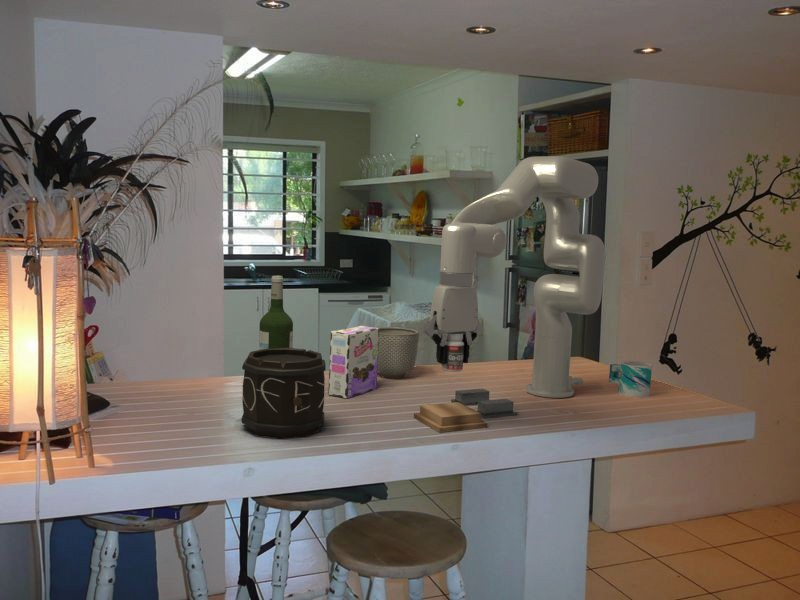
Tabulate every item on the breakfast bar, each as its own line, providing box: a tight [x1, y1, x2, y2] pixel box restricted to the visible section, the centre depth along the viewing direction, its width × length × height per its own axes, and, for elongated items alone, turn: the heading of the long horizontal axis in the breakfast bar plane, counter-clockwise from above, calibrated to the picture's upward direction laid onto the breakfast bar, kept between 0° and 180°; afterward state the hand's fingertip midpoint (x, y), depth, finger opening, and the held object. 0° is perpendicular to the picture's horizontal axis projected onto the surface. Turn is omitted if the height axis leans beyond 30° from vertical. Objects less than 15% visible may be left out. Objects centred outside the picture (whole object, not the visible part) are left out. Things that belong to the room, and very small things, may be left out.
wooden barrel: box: [240, 347, 327, 440], centre depth 158 cm, size 18×18×16 cm
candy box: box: [328, 325, 379, 399], centre depth 190 cm, size 14×6×16 cm, turn 148°
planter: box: [377, 326, 420, 380], centre depth 211 cm, size 14×14×13 cm
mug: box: [608, 360, 653, 399], centre depth 203 cm, size 8×12×8 cm
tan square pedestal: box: [413, 402, 488, 433], centre depth 167 cm, size 12×12×3 cm
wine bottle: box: [258, 275, 294, 350], centre depth 179 cm, size 8×8×30 cm
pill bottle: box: [440, 332, 464, 373], centre depth 165 cm, size 5×5×8 cm
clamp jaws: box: [450, 388, 518, 419], centre depth 181 cm, size 9×15×3 cm, turn 26°
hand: (452, 361), depth 166 cm, fingers closed on pill bottle, 4 cm apart
